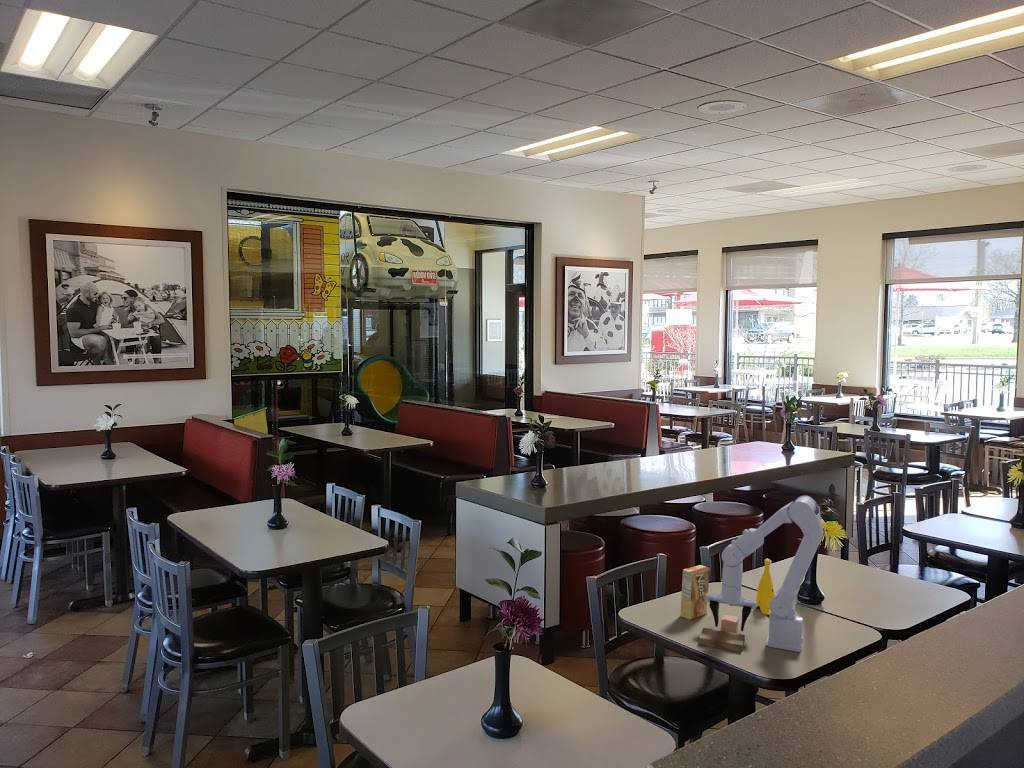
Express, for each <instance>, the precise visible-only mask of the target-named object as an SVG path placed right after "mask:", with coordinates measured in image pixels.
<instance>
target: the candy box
mask: <svg viewBox="0 0 1024 768" xmlns="http://www.w3.org/2000/svg"><path fill="white" fill-rule="evenodd" d="M710 570H711V569H710V567H707V566H705V565H701V564H699V565H695V566H691V567H688V568H684V569H682V578H681V579H682V581H681V582H682V583H681V599H680V612H679V613H680V617H682V618H684V619H687V620H693V619H696V618H698V617H701V616H704V615H707V614H708V602H706V595H707V593H708V594H709V587H710V586H709V583H710Z"/></svg>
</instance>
